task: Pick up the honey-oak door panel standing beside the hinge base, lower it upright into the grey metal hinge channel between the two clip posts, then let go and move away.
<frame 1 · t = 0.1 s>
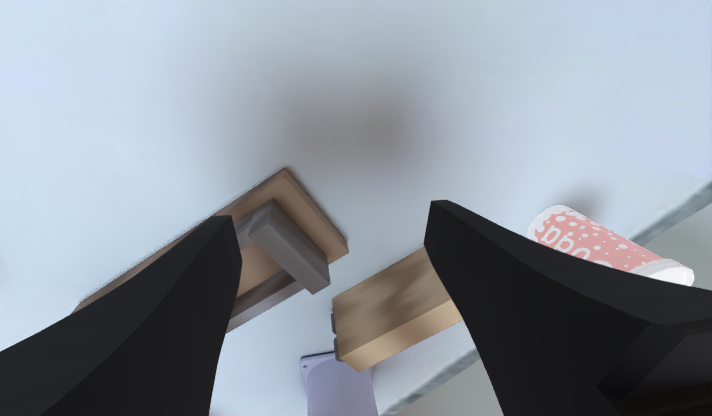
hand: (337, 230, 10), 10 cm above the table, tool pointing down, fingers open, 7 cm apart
beverage cup: (547, 224, 27), on the table
hinge base: (216, 271, 23), on the table
door panel: (393, 276, 27), on the table
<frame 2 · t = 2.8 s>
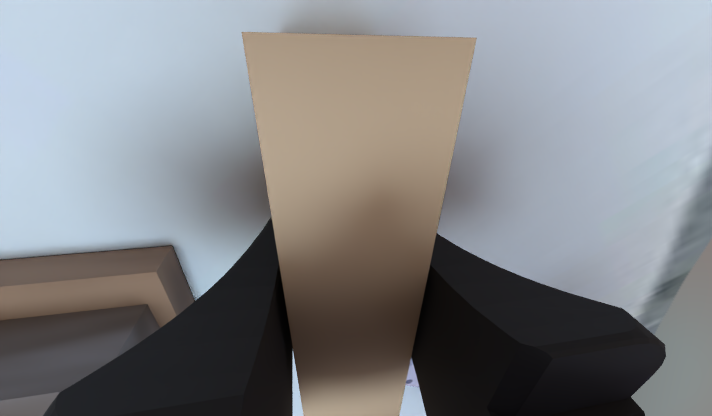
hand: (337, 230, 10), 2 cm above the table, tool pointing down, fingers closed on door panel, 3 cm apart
hinge base: (151, 391, 16), on the table
door panel: (332, 205, 12), on the table, touching gripper
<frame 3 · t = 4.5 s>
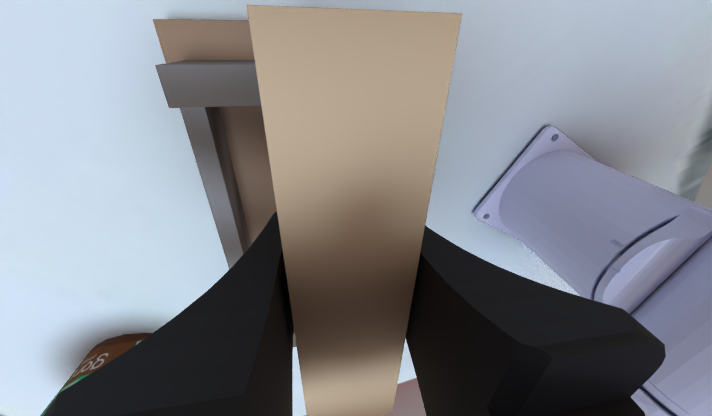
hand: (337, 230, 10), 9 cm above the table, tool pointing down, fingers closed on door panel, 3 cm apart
hinge base: (281, 199, 19), on the table
food container: (118, 354, 24), on the table
door panel: (331, 193, 12), point 6 cm above the table, touching gripper
when the fingers open (4 cm above the table, at t = 6.3 s): door panel stays where it is, resting on hinge base.
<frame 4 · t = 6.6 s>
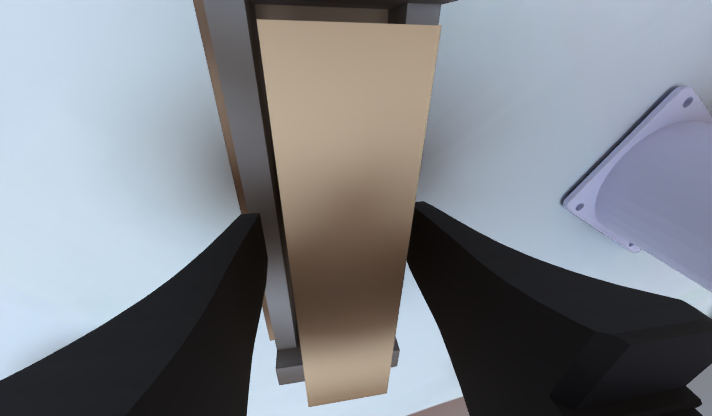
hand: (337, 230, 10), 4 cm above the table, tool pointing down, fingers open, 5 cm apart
hinge base: (327, 179, 14), on the table
door panel: (330, 188, 13), point 1 cm above the table, touching hinge base
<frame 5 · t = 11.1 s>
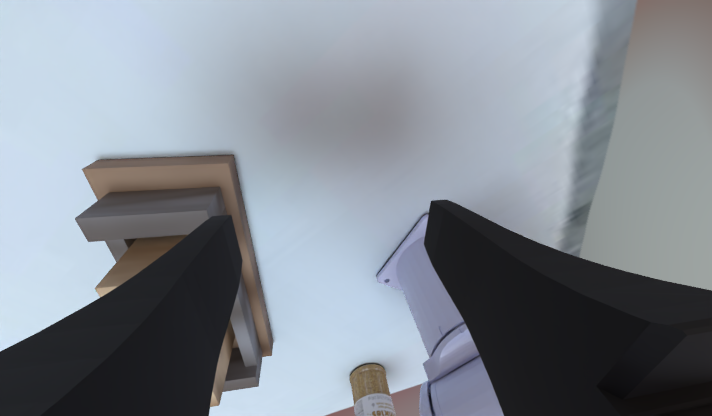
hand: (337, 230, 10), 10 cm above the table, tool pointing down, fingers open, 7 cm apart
sprinkles bottle: (366, 371, 35), on the table
hinge base: (207, 273, 23), on the table
door panel: (200, 284, 22), point 1 cm above the table, touching hinge base
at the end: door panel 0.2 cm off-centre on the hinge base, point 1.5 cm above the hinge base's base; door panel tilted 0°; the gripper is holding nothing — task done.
